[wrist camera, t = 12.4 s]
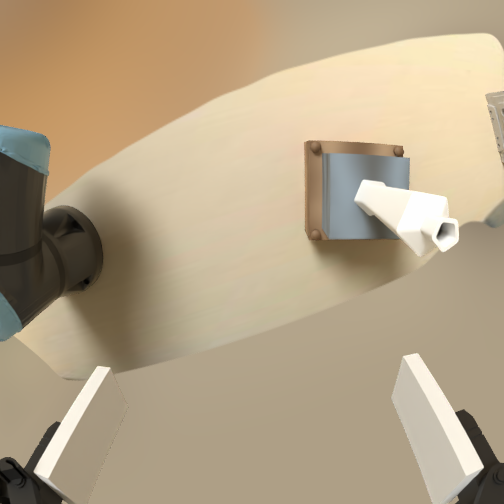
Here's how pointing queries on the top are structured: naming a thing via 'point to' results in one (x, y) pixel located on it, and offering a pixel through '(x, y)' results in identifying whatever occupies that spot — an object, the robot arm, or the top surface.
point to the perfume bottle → (410, 215)
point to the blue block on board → (348, 187)
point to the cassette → (497, 118)
